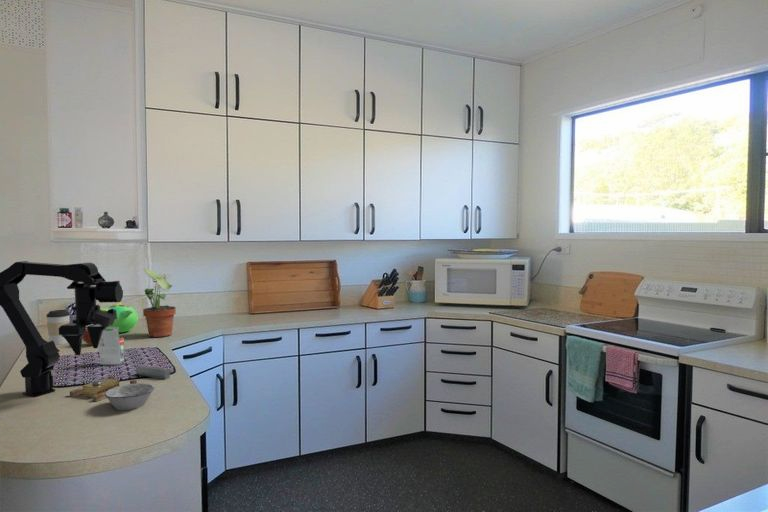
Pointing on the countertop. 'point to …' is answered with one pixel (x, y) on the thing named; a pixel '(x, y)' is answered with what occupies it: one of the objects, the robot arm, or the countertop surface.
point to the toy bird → (123, 317)
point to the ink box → (111, 347)
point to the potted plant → (158, 309)
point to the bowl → (129, 395)
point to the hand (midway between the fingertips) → (87, 351)
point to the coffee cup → (57, 325)
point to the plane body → (98, 396)
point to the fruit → (87, 337)
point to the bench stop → (153, 371)
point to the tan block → (99, 387)
